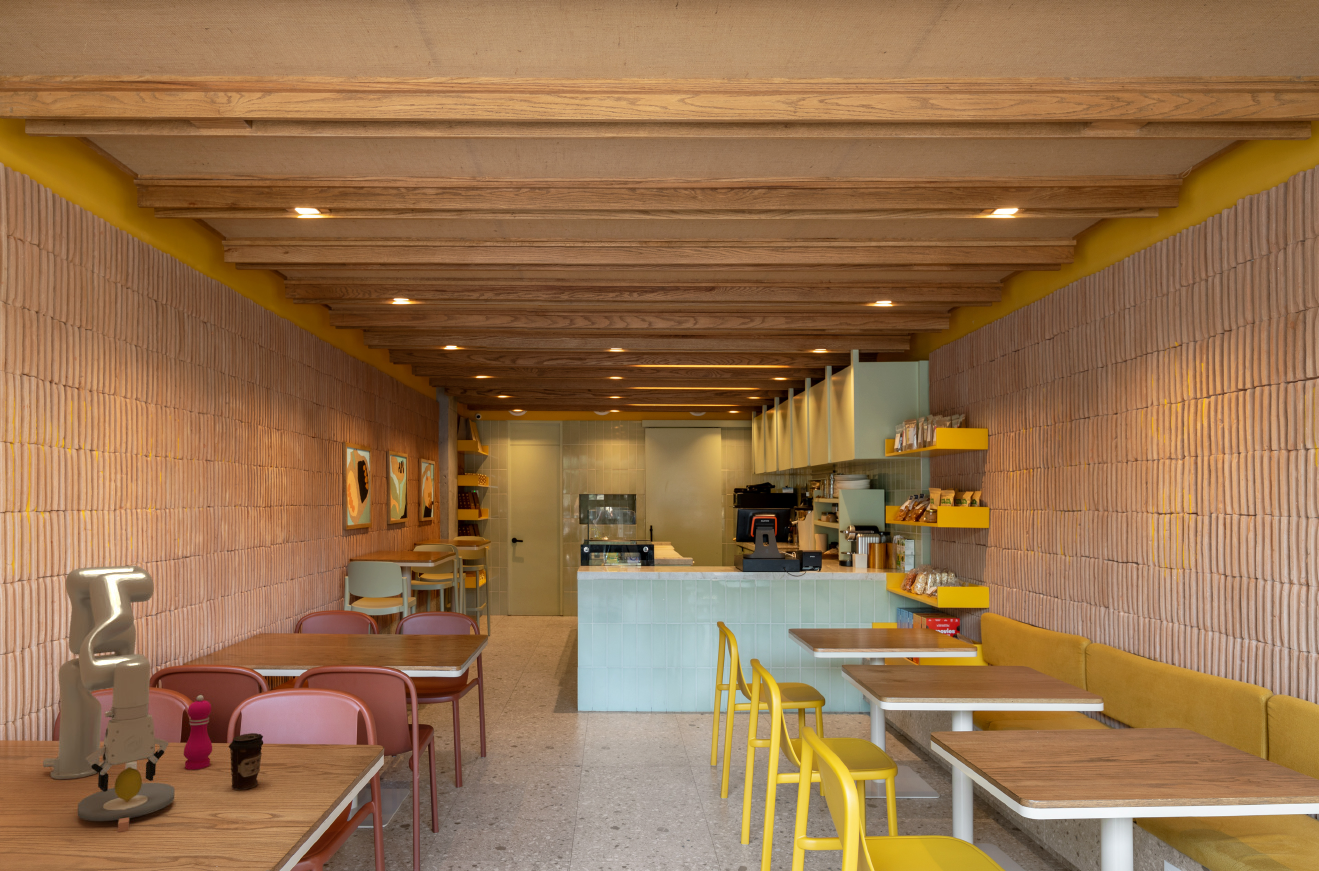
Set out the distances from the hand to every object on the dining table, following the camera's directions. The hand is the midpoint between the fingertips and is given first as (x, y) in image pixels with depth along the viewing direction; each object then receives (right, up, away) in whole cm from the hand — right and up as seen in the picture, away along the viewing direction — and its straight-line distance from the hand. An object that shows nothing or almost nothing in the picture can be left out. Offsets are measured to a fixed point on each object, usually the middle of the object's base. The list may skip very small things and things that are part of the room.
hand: (127, 784), depth 200 cm
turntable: (-2, -7, +4) cm, 8 cm away
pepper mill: (-4, -11, +38) cm, 40 cm away
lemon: (0, -4, 0) cm, 4 cm away
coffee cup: (+18, -10, +21) cm, 29 cm away
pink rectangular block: (+4, -7, -7) cm, 11 cm away
